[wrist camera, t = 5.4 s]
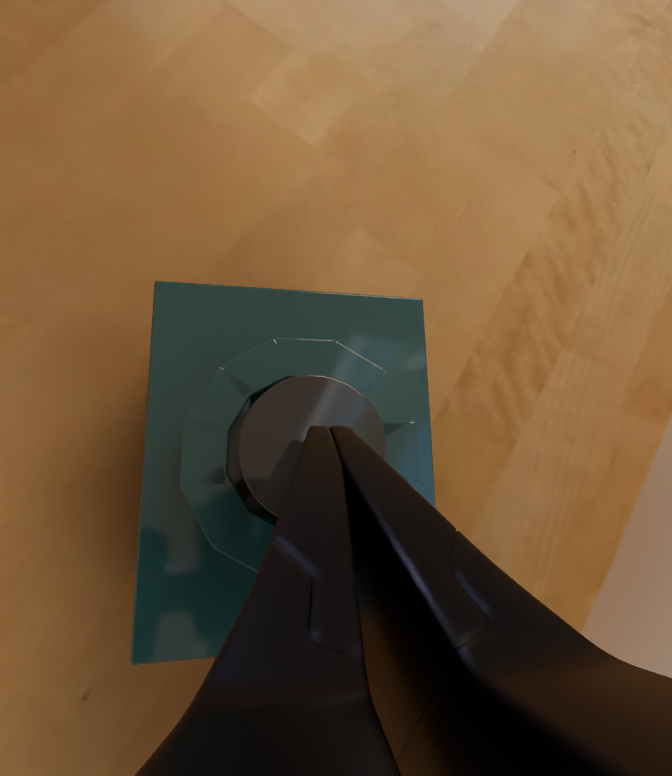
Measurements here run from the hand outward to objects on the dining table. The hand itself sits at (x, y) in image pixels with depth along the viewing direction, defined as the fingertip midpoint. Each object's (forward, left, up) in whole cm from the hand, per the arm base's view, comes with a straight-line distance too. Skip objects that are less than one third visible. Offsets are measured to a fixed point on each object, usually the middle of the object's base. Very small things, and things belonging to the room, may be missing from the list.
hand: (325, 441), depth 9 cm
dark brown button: (0, 0, -3) cm, 3 cm away
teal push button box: (0, 0, -12) cm, 12 cm away
